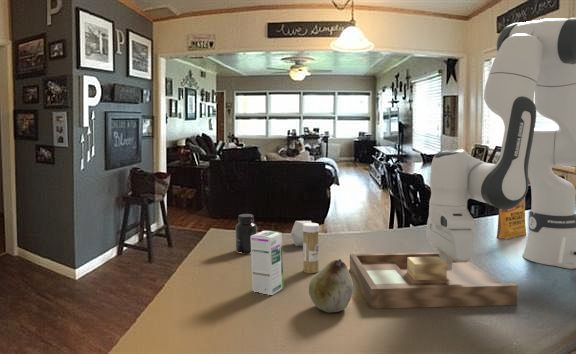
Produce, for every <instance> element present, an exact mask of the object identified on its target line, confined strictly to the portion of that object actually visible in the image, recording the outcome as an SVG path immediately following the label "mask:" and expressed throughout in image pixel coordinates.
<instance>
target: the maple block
mask: <svg viewBox="0 0 576 354" xmlns="http://www.w3.org/2000/svg"><path fill="white" fill-rule="evenodd" d="M407 273H408V274H409V275H410V276H411V277H412V278H413V279H414V280H442V279H447V263H446V262H444V261H443V260H442V259H440V258H439V257H438V256H437V257H407Z"/></svg>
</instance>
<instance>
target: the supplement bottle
mask: <svg viewBox="0 0 576 354" xmlns="http://www.w3.org/2000/svg"><path fill="white" fill-rule="evenodd" d="M237 220H238V223H236V225H235V252H236V251H238V252H242V253H250V252H251V235H255V234H257V233H258V231H257V230H258V225H257V224H256V223H255V222H254V221H255V220H254V215H253V214H251V213H242V214H239V215H238V219H237Z"/></svg>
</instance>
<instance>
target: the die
mask: <svg viewBox="0 0 576 354" xmlns="http://www.w3.org/2000/svg"><path fill="white" fill-rule="evenodd" d="M305 223H313V222H312V220H295V222H294V224H293V226H292V229H291V232H290V236H291V239H292V241H293V242H294V245H295V247H303V224H305Z"/></svg>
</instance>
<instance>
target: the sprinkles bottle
mask: <svg viewBox="0 0 576 354" xmlns="http://www.w3.org/2000/svg"><path fill="white" fill-rule="evenodd" d="M319 232H320V225H319V223H316V222H312V223H305V224H303V246H302V265H303V269H302V271H303V272H304V273H306V274H317V273H318V272H319V271H320V268H319V260H320V256H319V255H320V254H319V253H320V252H319V251H320V248H319V247H320V245H319Z"/></svg>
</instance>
